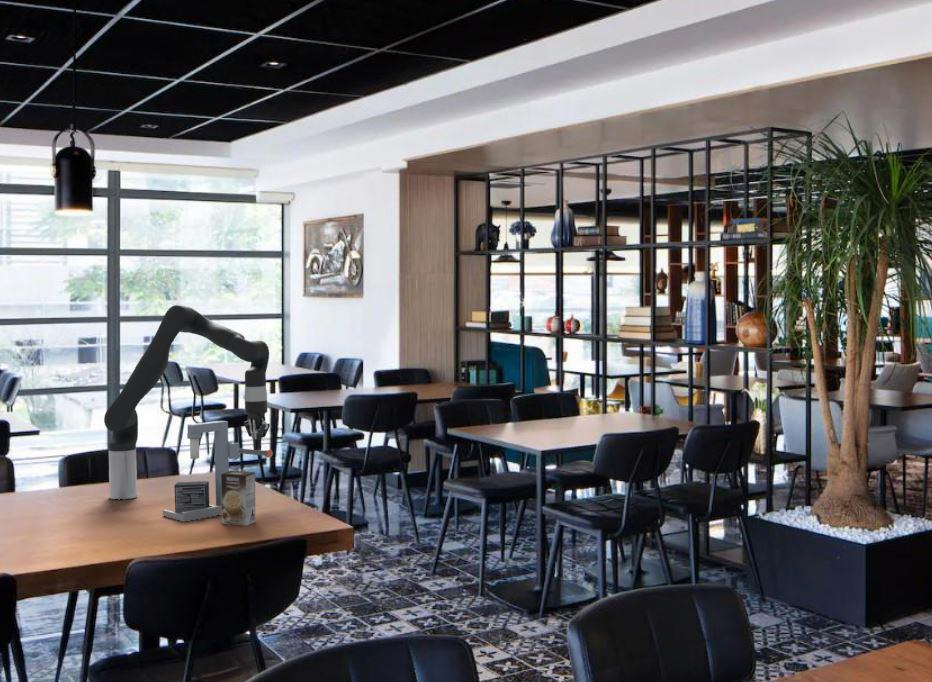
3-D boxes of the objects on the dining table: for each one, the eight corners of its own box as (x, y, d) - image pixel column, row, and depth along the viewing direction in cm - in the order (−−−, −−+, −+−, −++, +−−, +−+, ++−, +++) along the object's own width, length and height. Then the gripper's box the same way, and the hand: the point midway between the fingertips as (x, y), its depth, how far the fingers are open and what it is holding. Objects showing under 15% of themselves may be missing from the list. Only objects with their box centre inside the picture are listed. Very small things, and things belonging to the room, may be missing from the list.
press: (162, 516, 334) (160, 424, 332) (223, 505, 350) (221, 418, 348) (183, 522, 324) (181, 428, 323) (244, 510, 340) (243, 421, 339)
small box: (210, 511, 340) (209, 480, 340) (207, 515, 334) (207, 483, 333) (177, 512, 339) (176, 481, 338) (174, 517, 332) (173, 485, 332)
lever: (273, 458, 352) (274, 449, 353) (229, 454, 340) (230, 445, 340) (268, 457, 354) (269, 448, 355) (224, 453, 342) (225, 444, 342)
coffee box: (220, 524, 321) (219, 473, 320) (231, 519, 327) (230, 470, 326) (246, 526, 318) (245, 475, 317) (256, 521, 324) (255, 471, 323)
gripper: (276, 399, 346) (277, 450, 347) (254, 397, 356) (255, 446, 357) (257, 401, 341) (259, 453, 342) (235, 399, 350) (237, 449, 351)
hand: (257, 449), depth 349 cm, fingers closed
